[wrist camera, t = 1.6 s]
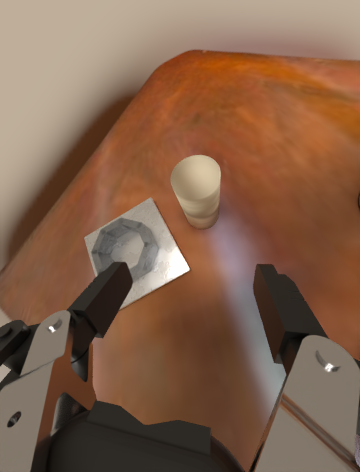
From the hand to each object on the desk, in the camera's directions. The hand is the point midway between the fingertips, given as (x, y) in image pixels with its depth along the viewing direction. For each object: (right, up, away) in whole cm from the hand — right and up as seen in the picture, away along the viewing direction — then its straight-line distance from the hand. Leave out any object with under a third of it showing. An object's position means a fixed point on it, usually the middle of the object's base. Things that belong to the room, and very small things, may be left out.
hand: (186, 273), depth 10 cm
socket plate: (-8, -1, +16) cm, 18 cm away
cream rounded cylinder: (+3, +6, +16) cm, 17 cm away
